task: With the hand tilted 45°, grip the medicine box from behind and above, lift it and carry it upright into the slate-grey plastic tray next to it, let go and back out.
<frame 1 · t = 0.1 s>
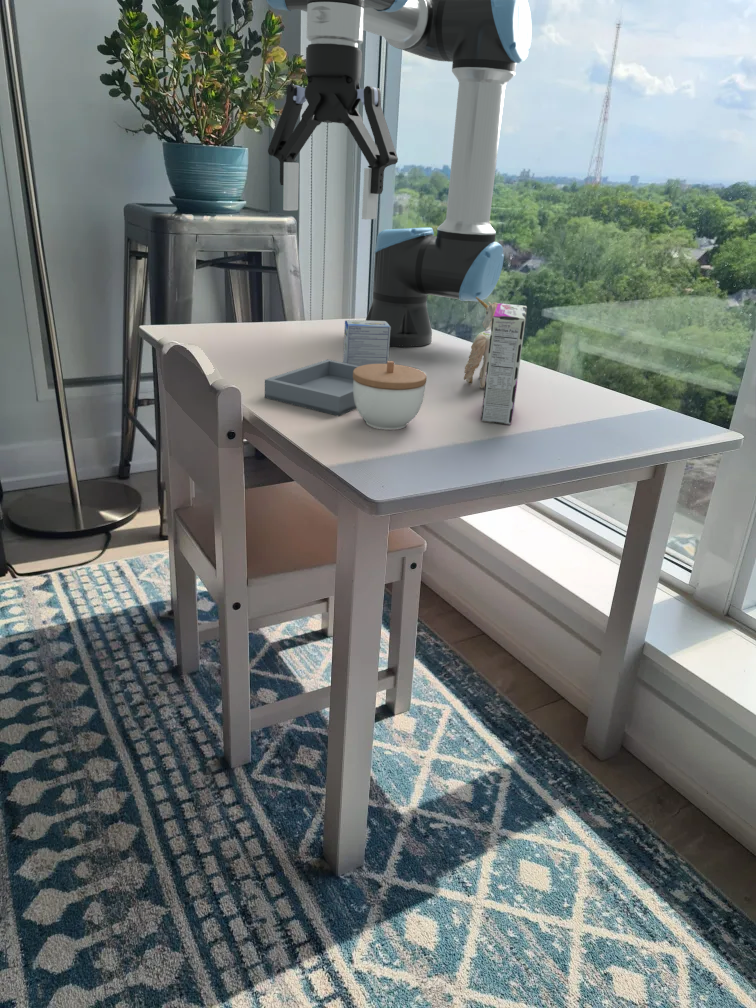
hand: (328, 214, 111), 28 cm above the table, tool pointing down, fingers open, 13 cm apart
unicorn figurine: (470, 379, 141), on the table
slate tray: (332, 394, 126), on the table
medicine box: (364, 370, 143), on the table
candy bar box: (496, 414, 122), on the table
lidded jar: (386, 424, 114), on the table
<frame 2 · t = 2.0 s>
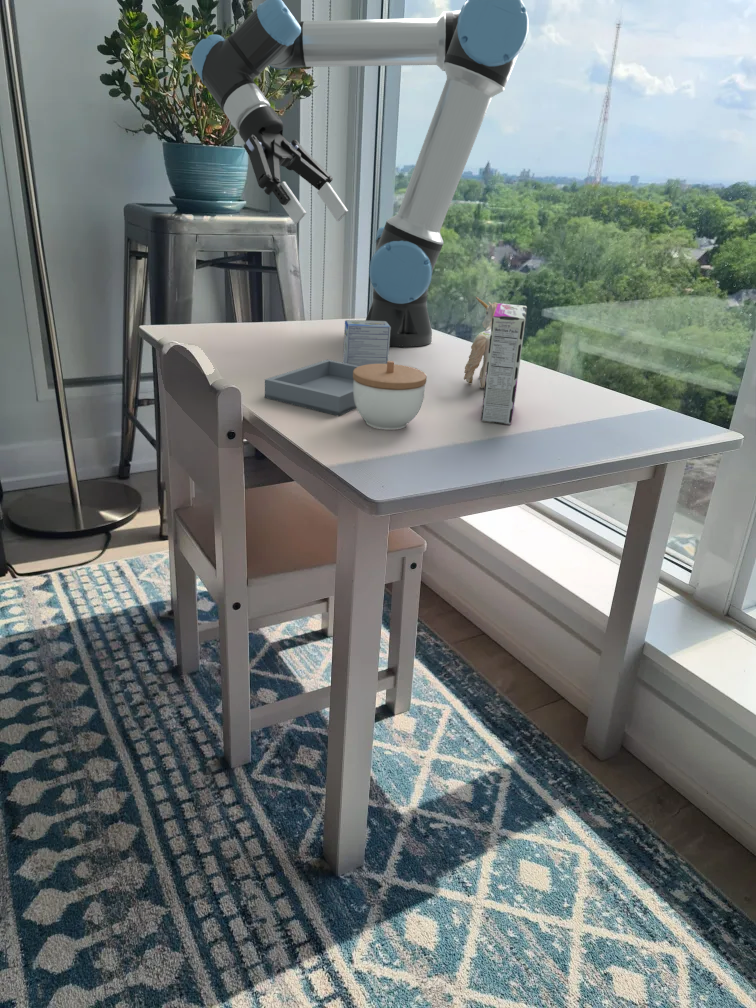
hand: (322, 217, 136), 26 cm above the table, tool tilted 45°, fingers open, 13 cm apart
nothing on the table moved.
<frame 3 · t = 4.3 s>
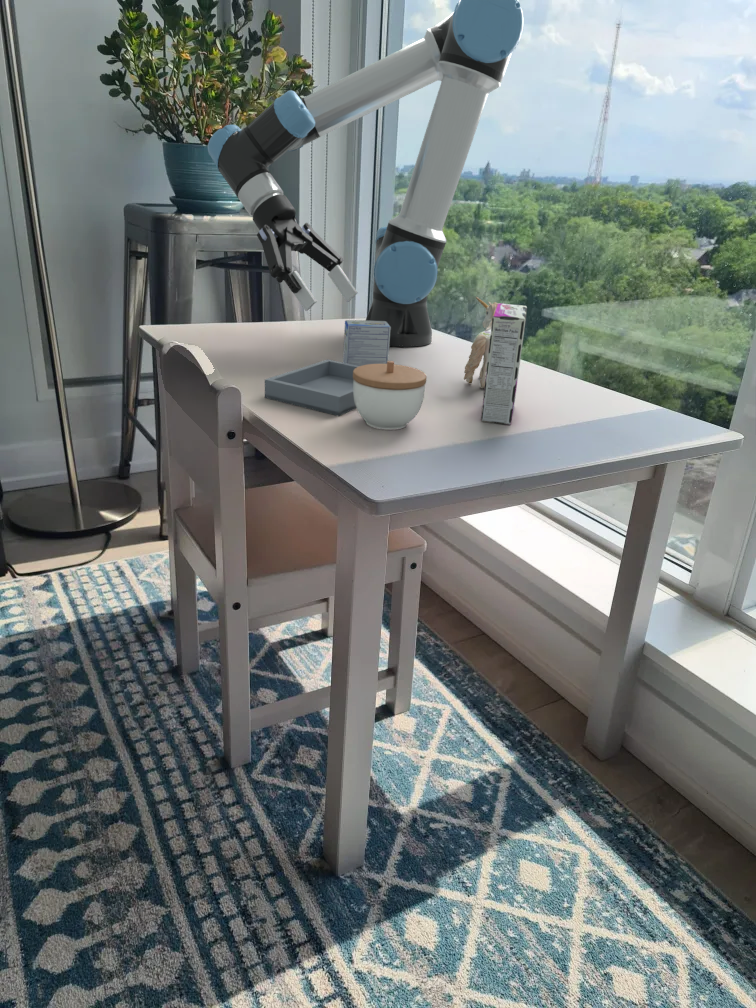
hand: (332, 301, 140), 11 cm above the table, tool tilted 45°, fingers open, 13 cm apart
nothing on the table moved.
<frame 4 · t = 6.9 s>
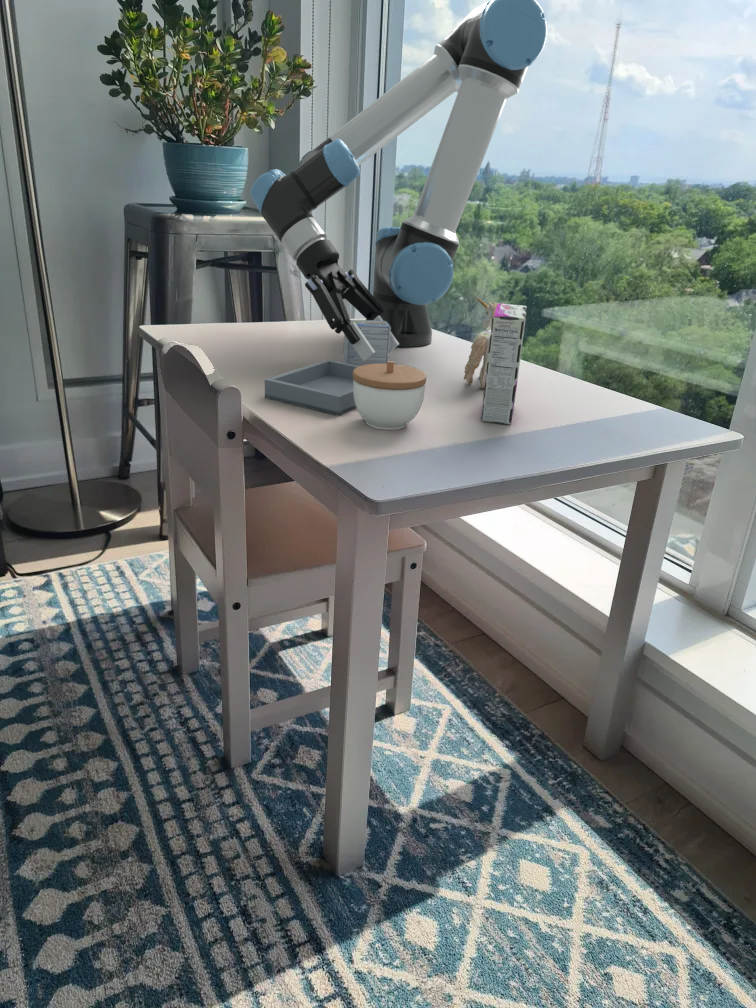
hand: (381, 352, 140), 4 cm above the table, tool tilted 45°, fingers closed on medicine box, 8 cm apart
medicine box: (364, 370, 143), on the table, touching gripper
everything else where it was.
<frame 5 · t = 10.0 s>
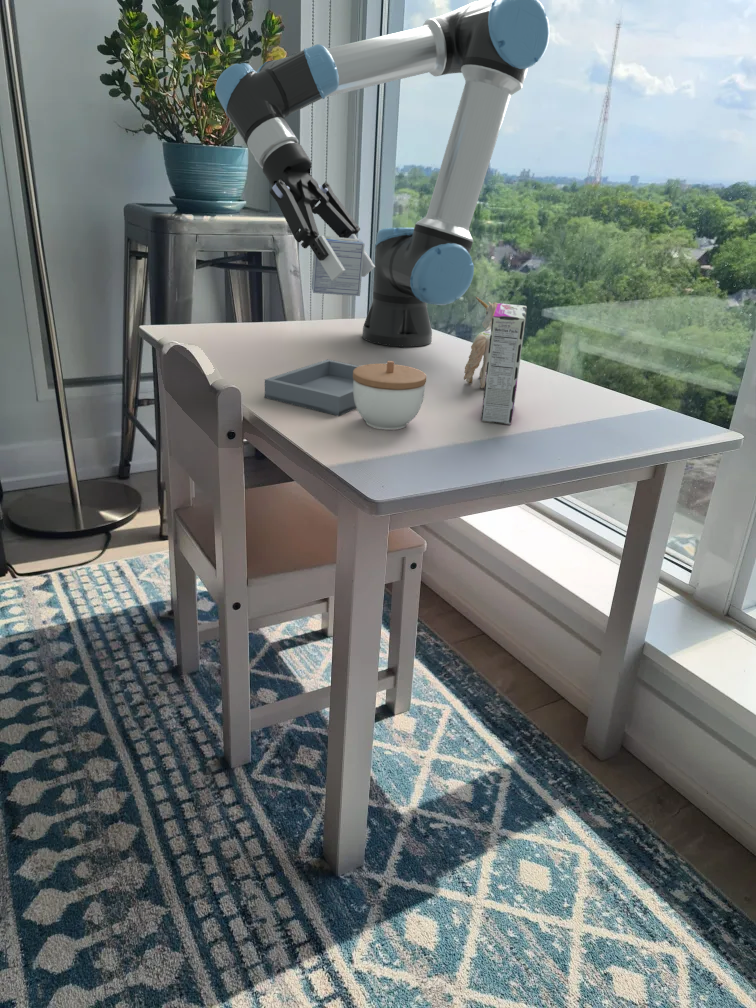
hand: (354, 273, 125), 19 cm above the table, tool tilted 45°, fingers closed on medicine box, 8 cm apart
medicine box: (335, 294, 128), point 15 cm above the table, touching gripper
everything else where it was.
when the fingers open (6 cm above the table, at t = 13.4 s): medicine box drops 1 cm, resting on slate tray.
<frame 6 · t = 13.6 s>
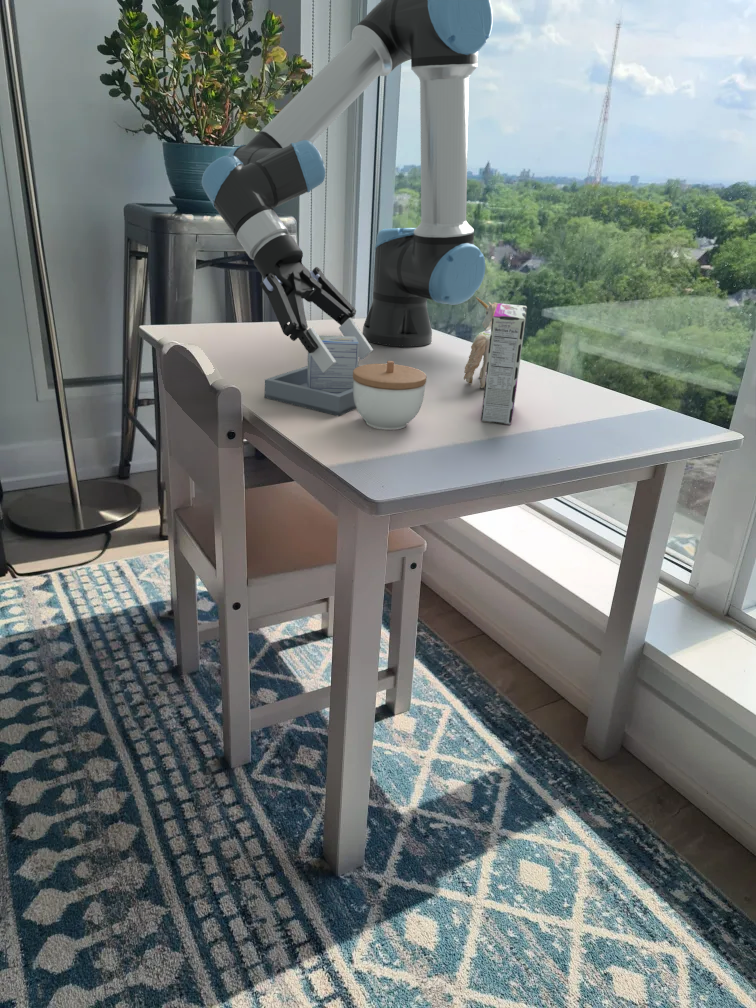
hand: (349, 361, 122), 6 cm above the table, tool tilted 45°, fingers open, 10 cm apart
medicine box: (331, 392, 126), resting on slate tray
everything else where it was.
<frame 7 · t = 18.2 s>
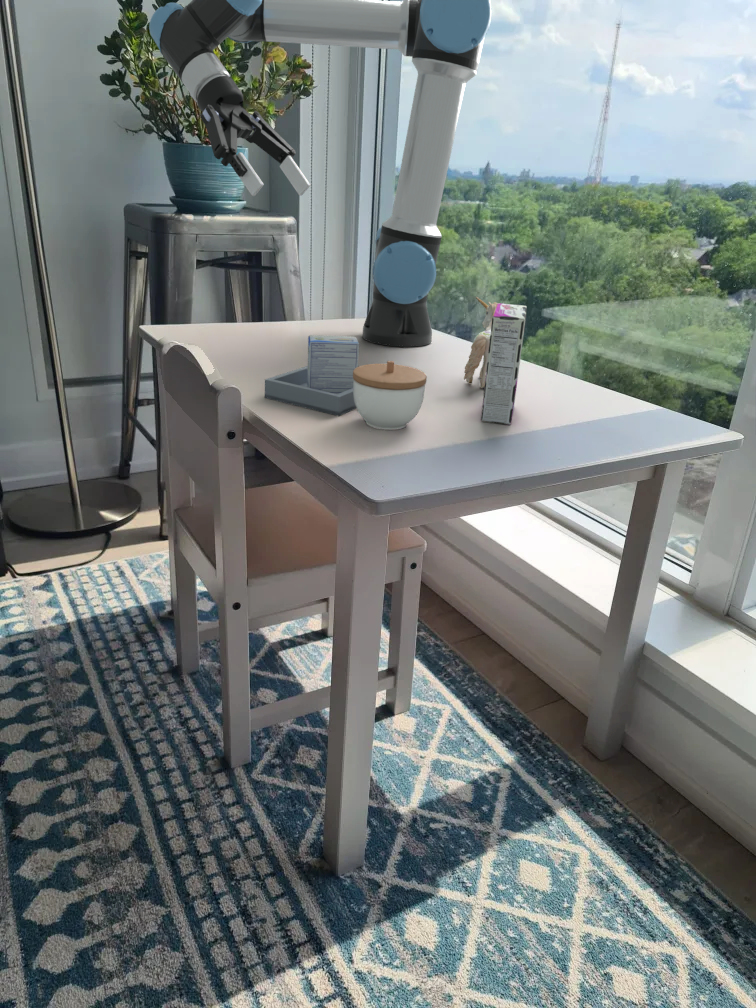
hand: (282, 190, 133), 30 cm above the table, tool tilted 45°, fingers open, 13 cm apart
nothing on the table moved.
at the end: medicine box inside the target area on the slate tray (0.2 cm from its centre), point 0.4 cm above the slate tray's base; medicine box tilted 0°; the gripper is holding nothing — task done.
